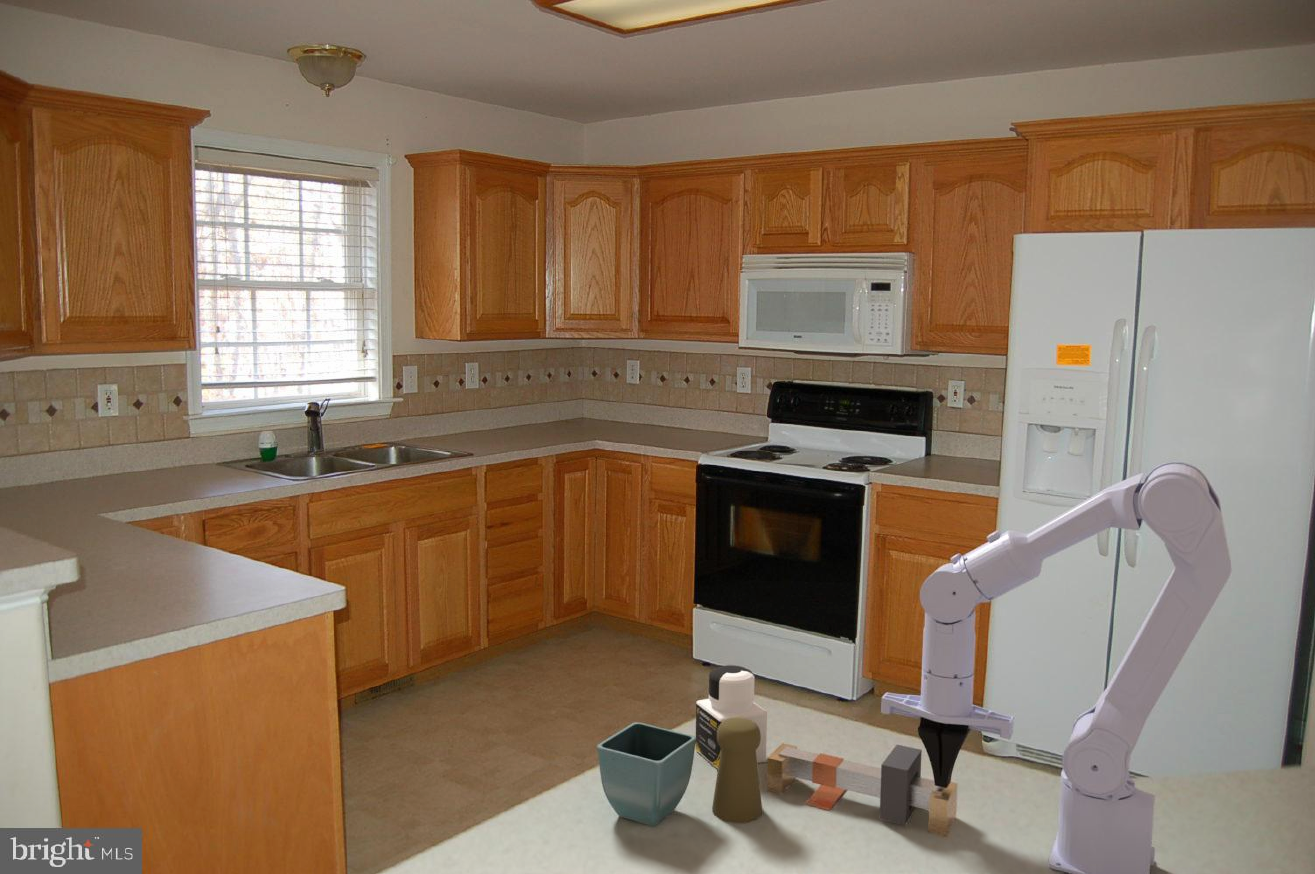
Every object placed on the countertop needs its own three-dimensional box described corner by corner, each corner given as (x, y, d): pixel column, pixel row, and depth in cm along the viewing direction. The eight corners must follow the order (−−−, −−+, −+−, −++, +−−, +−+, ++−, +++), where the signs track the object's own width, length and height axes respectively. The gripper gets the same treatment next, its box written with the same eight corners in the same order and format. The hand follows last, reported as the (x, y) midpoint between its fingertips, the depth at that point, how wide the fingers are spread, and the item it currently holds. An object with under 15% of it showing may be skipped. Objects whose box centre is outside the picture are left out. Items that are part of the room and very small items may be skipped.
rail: (958, 813, 116) (959, 776, 115) (944, 840, 110) (945, 801, 109) (784, 771, 127) (785, 737, 126) (763, 793, 121) (764, 757, 120)
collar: (919, 802, 118) (921, 749, 117) (905, 825, 112) (907, 770, 112) (894, 796, 119) (896, 744, 119) (879, 818, 114) (881, 764, 113)
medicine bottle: (694, 750, 133) (695, 665, 131) (740, 741, 136) (741, 658, 134) (719, 772, 126) (721, 682, 125) (767, 762, 129) (769, 674, 128)
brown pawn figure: (760, 825, 113) (762, 734, 112) (708, 819, 114) (709, 729, 113) (765, 801, 119) (766, 713, 117) (715, 795, 120) (717, 709, 119)
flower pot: (634, 789, 121) (635, 719, 120) (697, 807, 117) (698, 735, 116) (594, 819, 114) (594, 745, 113) (659, 840, 109) (660, 763, 108)
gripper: (1020, 670, 111) (1014, 784, 113) (894, 649, 118) (890, 756, 120) (1009, 690, 105) (1003, 810, 107) (877, 666, 112) (873, 779, 114)
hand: (942, 783), depth 113 cm, fingers closed
